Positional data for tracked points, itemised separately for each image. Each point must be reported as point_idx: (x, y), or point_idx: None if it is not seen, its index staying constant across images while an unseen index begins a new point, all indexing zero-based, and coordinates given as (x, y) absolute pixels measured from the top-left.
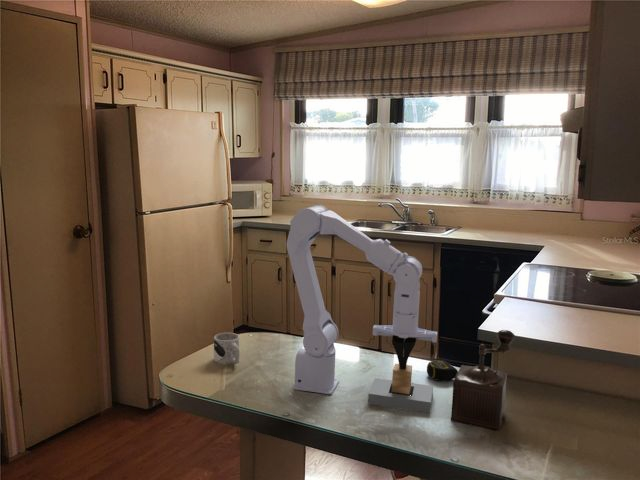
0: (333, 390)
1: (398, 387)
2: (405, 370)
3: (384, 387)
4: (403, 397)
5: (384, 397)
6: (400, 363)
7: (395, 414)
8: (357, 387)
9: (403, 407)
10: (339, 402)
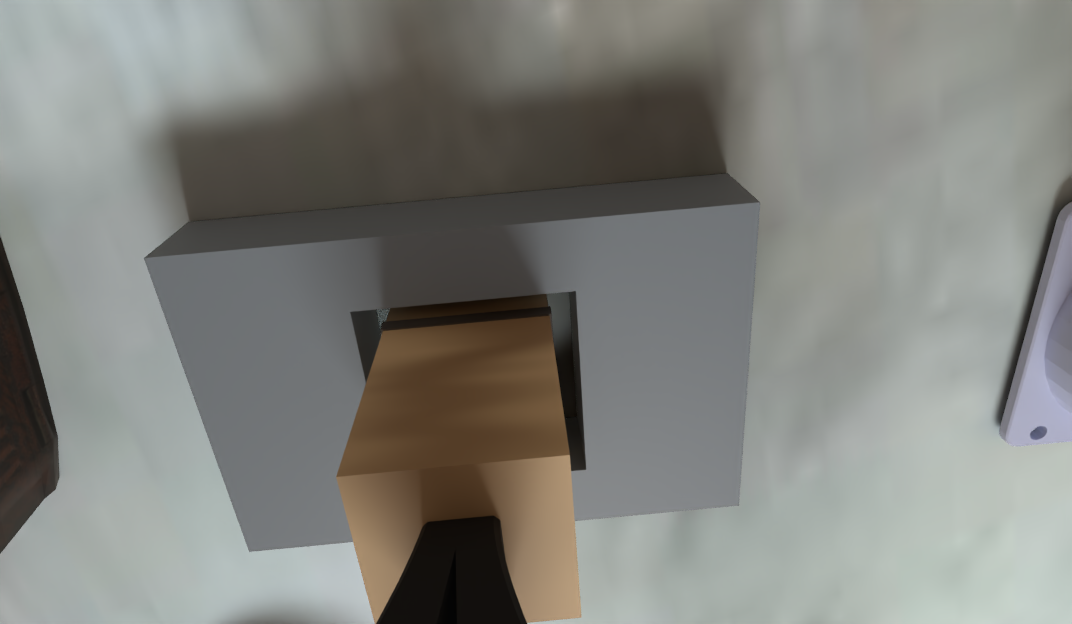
0: (1046, 270)
1: (486, 348)
2: (412, 499)
3: (631, 379)
4: (416, 254)
5: (596, 209)
6: (481, 563)
7: (455, 71)
8: (842, 410)
9: (415, 204)
10: (981, 98)
